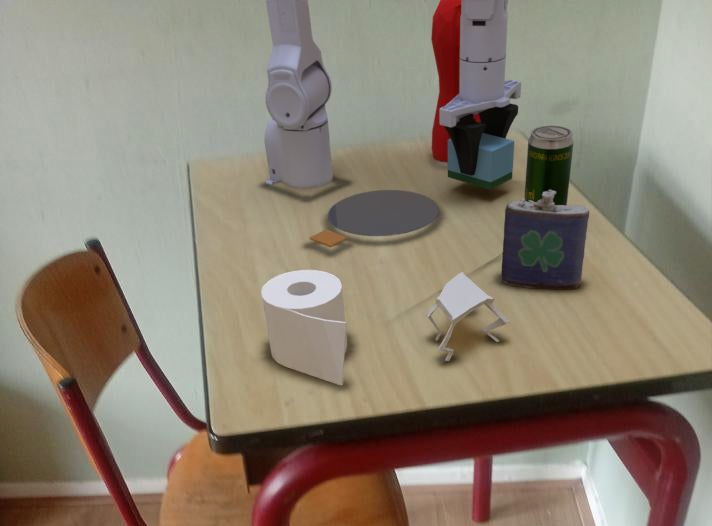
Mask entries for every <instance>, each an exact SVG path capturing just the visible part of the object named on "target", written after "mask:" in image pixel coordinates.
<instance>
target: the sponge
mask: <svg viewBox="0 0 712 526" xmlns="http://www.w3.org/2000/svg"><path fill="white" fill-rule="evenodd" d="M514 154H515V140H513V139H509V138H506V139H505V138H501V137H497V136H493V135H489V134H485V133H483V134H482V137H481V140H480V144H479V149H478V159H477V166H476V171H475V174H474V175H473V176H470V175H466V174H463V173H461V172H460V168H459V164H458V160H457V155H456V152H455V148H454V145H453V143H452V140H451V139H449V140H448V162H447V178H449V179H452V180H456V181H459V182H463V183H465V184H466V183H467V184H470V185H473V186H476V187H480V188H483V189H487V190H490V191H491V190H493V189H495V188H497V187H499V186H501V185H503V184H505V183H507V182H509V181H511V180H512V179H513V172H514Z"/></svg>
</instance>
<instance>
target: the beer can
mask: <svg viewBox="0 0 712 526" xmlns="http://www.w3.org/2000/svg"><path fill="white" fill-rule="evenodd" d="M573 150H574V138H573V130H572V129H570V128H569V127H566V126H562V125H542V126H541V125H540V126H538V127H534V128H533V129H532V130H531V131H530V136H529V139H528V140H527V153H526V154H527V155H526V169H525V184H524V196H523V198H525V201H526V202H529V200H531V201H533V202H537V201H538V200H541V199H542V198H543V196H542V194H543V192H545V191H547V192H549V191H548V190H552V191H556V194H555V195H554V198H553V202H554V203H555V204H554V205H565V206H568V197H569V188H570V181H571V180H570V178H571V170H572V169H571V168H572V160H573Z"/></svg>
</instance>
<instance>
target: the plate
mask: <svg viewBox="0 0 712 526" xmlns="http://www.w3.org/2000/svg"><path fill="white" fill-rule="evenodd" d="M439 213H440V207H439V205H438V204H437V203H436V202H435V201H434V199H432V198H430V197H428V196H427V195H425V194H421V193H418V192H413V191H409V190H401V189H380V190H371V191H370V190H369V191H364V192H360V193H356V194H353V195H350V196H347V197H345V198H343V199H341V200H339V201H338V202H337V201H336V203H335V204H333V205H332V206H331V207H330V209H329V211H328V213H327V219H328V221H329V222H330V223H331V225H332V226H333V227H334V228H336V229H338V230H339V231H343V232H345V233H348V234H352V235H356V236H364V237H390V236H391V237H392V236H398V235H403V234H408V233H412V232H415V231H418V230H420V229H422V228H425V227H427V226H429V225H430V224H431V223H433V222H434V221H435V220H436V219H437V218H438V216H439Z"/></svg>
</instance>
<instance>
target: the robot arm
mask: <svg viewBox="0 0 712 526" xmlns="http://www.w3.org/2000/svg"><path fill="white" fill-rule="evenodd" d="M508 1H509V0H462V6H461V17H460V88H459V94H458V95H457V96H456V97H455V98H454V99H453V100H452V101H450V102H449V103H448V104H447V105H446V106H444V107H442V108H440V109H439V116H440V125H443V126H444V127H445V129H446V130H447V132H448V134H449V136H450V138H451V140H452V143H453V145H454V148H455V152H456V155H457V160H458V164H459V168H460V172H461V173H463V174H466V175H470V176H473V175H474V174H475V171H476V166H477V159H478V149H479V144H480V140H481V137H482V134H483V133H485V134H489V135H493V136H497V137H501V138H505V139H507V137H508V133H509V131H510V128H511V126H512V124H513V122H514V121H515V119H516V117H517V115H518V114H519V105H518V104H516V103H511V100H512V99H513V100H517V99H520V98H521V93H522V81H519V80H513V79H507V80H506V58H507V57H506V56H507V39H508V19H509V13H508V3H509V2H508ZM265 3H266V10H267V16H268V22H269V23H268V24H269V29H270V36H271V41H272V50H271V53H270V57H269V60H268V64H267V68H266V73H267V79H268V81H267V82H268V83H267V88H266V92H265V106H266V109H267V112H268V114H269V116H270V118H271V119H270V120H269V121H268V123H267V125H266V127H265V130H264V138H263V139H264V147H265V149H264V150H265V154H266V155H265V156H266V162H267V169H268V175H269V179H267V180H265V184H266V186H272V185H273V184H276V183H278V182H281V183H284V184H285V185H286V186H288V187H289V188H295V189H301V190H302V189H303V190H304V189H305V190H306V189H315V188H321V187H323V186H326V185H328V184H329V183H331V182H332V181H333V180H334V173H333V161H332V151H331V140H330V139H331V138H330V129H329V127H330V126H329V119H328V113H327V108H326V104H327V103H328V102H329V100H330V98H331V95H332V90H333V89H332V87H333V86H332V80H331V77H330V75H329V73H328V71H327V69H326V67H325V65H324V61H323V55H322V51H321V49H320V48H319V46H318V45H317V43H316V42H315V41H314V39H313V31H312V23H311V14H310V7H309V0H265ZM477 113H479V117H480V121H481V123H479V122H476V119H473V117H474V115H475V114H477Z"/></svg>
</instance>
